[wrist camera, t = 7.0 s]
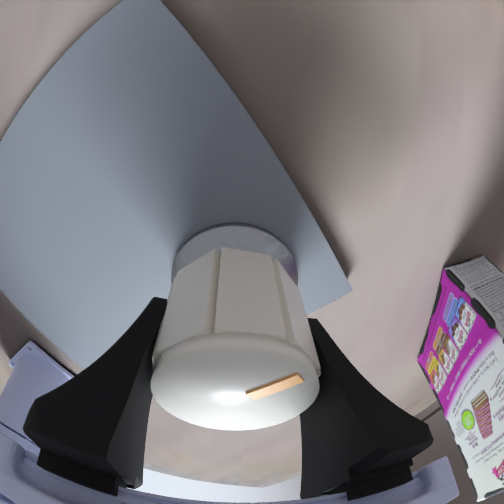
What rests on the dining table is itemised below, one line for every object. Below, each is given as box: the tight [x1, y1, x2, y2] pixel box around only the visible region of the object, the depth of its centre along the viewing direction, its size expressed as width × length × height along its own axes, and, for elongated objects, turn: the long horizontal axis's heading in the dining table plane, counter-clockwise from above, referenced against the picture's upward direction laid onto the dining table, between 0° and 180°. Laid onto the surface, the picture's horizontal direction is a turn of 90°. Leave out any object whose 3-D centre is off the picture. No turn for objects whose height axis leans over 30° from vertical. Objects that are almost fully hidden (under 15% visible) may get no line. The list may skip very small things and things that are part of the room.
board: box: [0, 0, 353, 369], centre depth 14 cm, size 21×19×1 cm
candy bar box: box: [417, 256, 504, 502], centre depth 12 cm, size 11×5×16 cm, turn 12°
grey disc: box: [171, 222, 298, 286], centre depth 13 cm, size 6×6×4 cm
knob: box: [151, 247, 321, 430], centre depth 10 cm, size 6×6×5 cm
